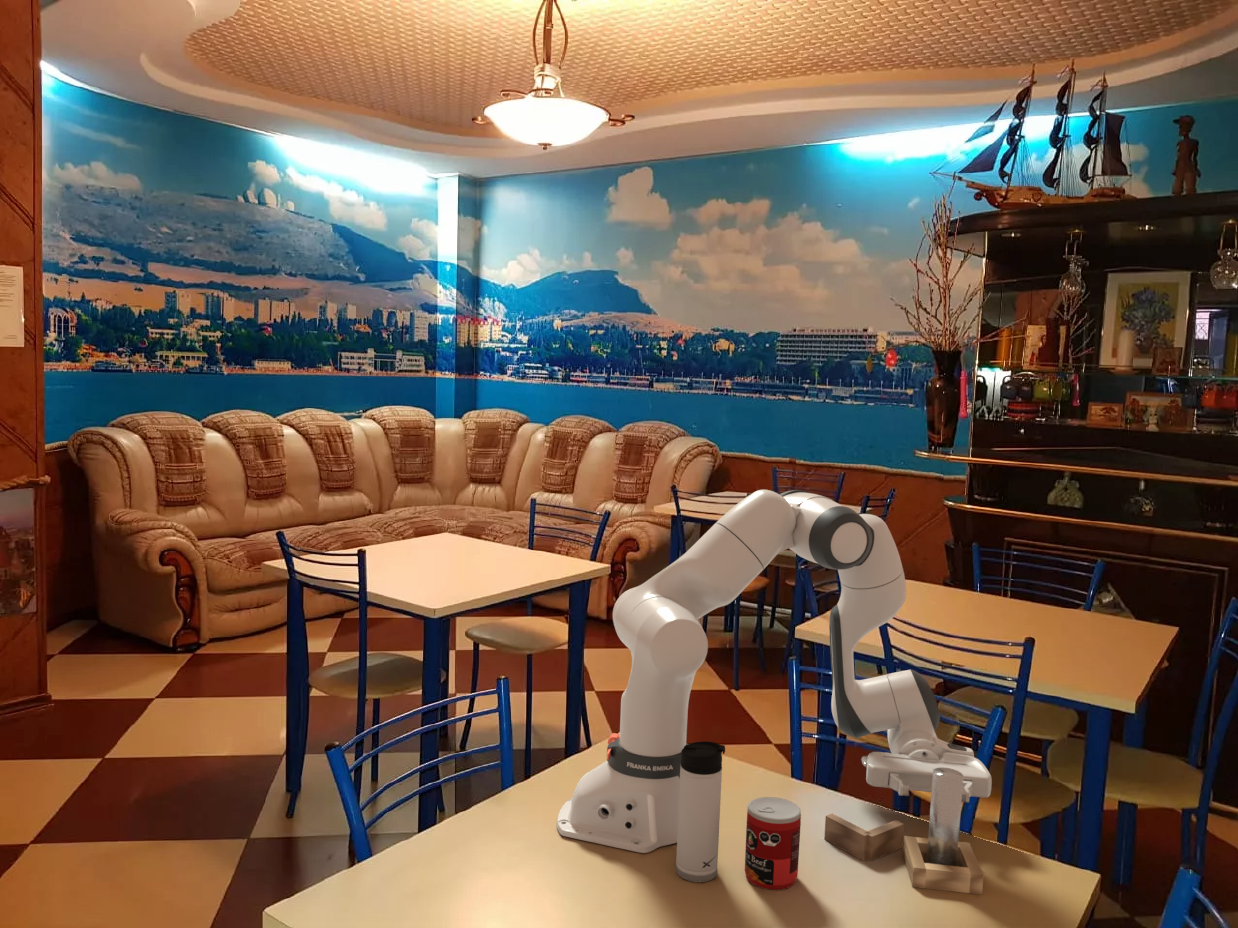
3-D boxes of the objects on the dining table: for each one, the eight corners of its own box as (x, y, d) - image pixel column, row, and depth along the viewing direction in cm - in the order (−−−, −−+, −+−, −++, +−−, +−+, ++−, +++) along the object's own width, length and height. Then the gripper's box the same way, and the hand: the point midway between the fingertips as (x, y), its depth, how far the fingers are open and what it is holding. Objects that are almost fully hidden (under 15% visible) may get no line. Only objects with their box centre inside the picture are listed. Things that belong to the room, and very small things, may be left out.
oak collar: (912, 886, 141) (913, 867, 140) (902, 853, 151) (904, 835, 150) (982, 894, 139) (983, 875, 139) (967, 860, 149) (969, 842, 149)
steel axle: (928, 879, 143) (935, 777, 142) (923, 864, 147) (930, 766, 146) (958, 882, 142) (965, 780, 141) (952, 867, 147) (960, 768, 145)
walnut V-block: (826, 855, 149) (827, 831, 149) (823, 835, 156) (825, 812, 155) (907, 864, 147) (909, 840, 147) (901, 844, 154) (903, 820, 153)
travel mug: (717, 885, 139) (723, 755, 137) (673, 879, 140) (678, 750, 138) (721, 864, 145) (727, 739, 143) (678, 859, 146) (684, 734, 145)
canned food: (734, 869, 144) (738, 800, 143) (779, 860, 147) (782, 792, 146) (761, 895, 137) (765, 822, 136) (807, 885, 140) (811, 814, 139)
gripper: (861, 737, 167) (869, 769, 154) (981, 749, 164) (1001, 782, 151) (859, 772, 168) (867, 806, 154) (978, 783, 165) (998, 819, 151)
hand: (934, 794), depth 152 cm, fingers open, 8 cm apart
